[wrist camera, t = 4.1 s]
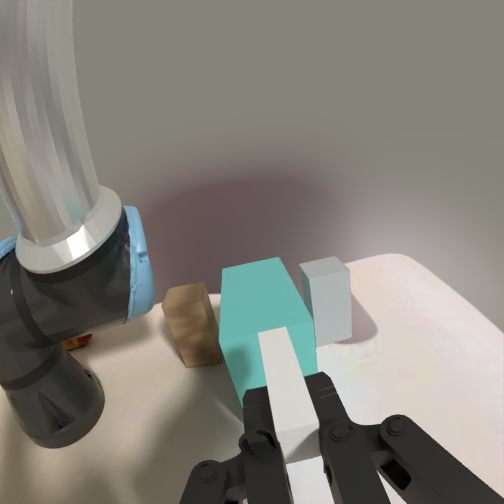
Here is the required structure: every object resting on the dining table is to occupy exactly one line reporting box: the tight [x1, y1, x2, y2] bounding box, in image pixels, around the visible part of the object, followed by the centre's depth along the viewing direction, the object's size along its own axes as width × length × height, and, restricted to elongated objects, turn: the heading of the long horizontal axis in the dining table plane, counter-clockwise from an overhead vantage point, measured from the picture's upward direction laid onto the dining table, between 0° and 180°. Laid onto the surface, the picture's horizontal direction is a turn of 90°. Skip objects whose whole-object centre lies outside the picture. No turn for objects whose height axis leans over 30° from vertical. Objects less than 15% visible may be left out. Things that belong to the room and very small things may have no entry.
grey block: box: [299, 256, 352, 347], centre depth 34 cm, size 5×5×10 cm
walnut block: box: [161, 282, 222, 368], centre depth 35 cm, size 5×5×10 cm
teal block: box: [219, 257, 318, 408], centre depth 28 cm, size 7×15×12 cm, turn 6°
